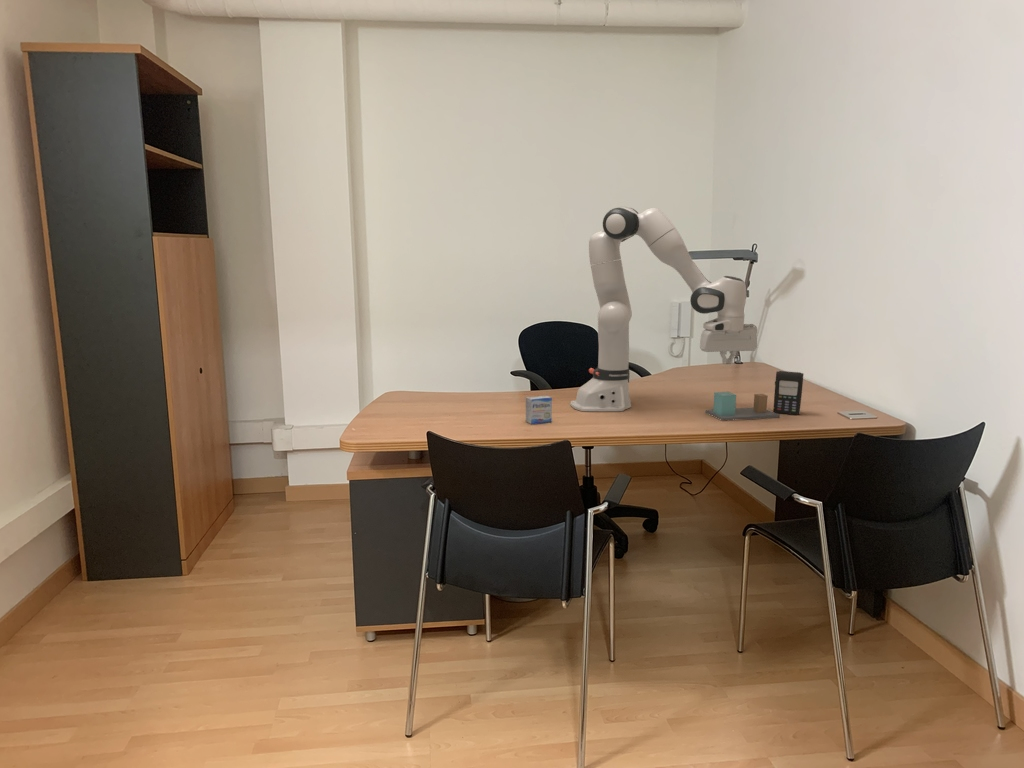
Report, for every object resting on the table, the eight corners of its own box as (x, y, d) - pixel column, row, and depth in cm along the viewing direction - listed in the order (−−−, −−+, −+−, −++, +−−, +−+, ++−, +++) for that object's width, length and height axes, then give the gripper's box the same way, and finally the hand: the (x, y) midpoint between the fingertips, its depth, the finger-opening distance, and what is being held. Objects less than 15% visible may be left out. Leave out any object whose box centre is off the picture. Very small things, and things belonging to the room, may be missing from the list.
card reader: (772, 413, 258) (775, 372, 255) (773, 410, 261) (776, 370, 258) (799, 415, 254) (803, 374, 251) (800, 413, 258) (803, 372, 255)
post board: (722, 420, 247) (723, 400, 245) (705, 412, 258) (706, 393, 256) (779, 417, 252) (781, 398, 250) (760, 409, 263) (761, 390, 262)
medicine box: (530, 424, 240) (531, 399, 238) (525, 421, 244) (525, 396, 242) (551, 422, 243) (552, 397, 242) (546, 419, 247) (546, 394, 246)
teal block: (720, 415, 250) (722, 395, 248) (713, 411, 255) (714, 392, 253) (735, 414, 251) (736, 394, 250) (726, 411, 256) (728, 391, 255)
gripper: (752, 322, 252) (749, 361, 255) (699, 323, 247) (696, 363, 250) (762, 324, 246) (759, 364, 249) (708, 325, 241) (705, 366, 244)
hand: (727, 364), depth 249 cm, fingers closed
